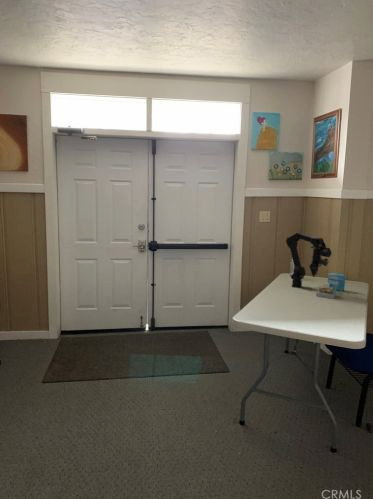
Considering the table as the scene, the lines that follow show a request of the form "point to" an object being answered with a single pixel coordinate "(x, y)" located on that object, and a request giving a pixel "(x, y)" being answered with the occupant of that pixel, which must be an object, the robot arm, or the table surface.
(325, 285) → the pale green block
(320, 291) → the brown cardboard box
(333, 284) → the data package
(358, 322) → the table surface
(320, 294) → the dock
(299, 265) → the robot arm
